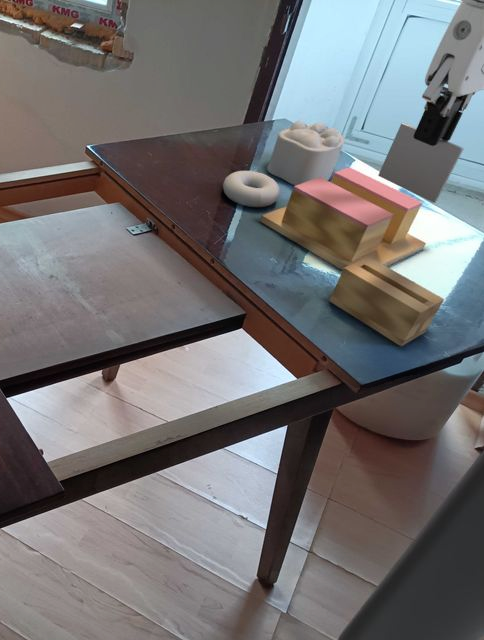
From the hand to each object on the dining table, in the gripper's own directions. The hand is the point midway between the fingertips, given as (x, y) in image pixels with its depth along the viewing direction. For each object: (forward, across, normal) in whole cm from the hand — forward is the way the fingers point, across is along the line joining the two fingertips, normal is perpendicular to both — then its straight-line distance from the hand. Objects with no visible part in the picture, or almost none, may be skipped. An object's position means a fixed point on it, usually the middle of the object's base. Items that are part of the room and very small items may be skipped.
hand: (431, 138), depth 93 cm
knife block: (+23, -8, -7) cm, 25 cm away
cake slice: (+21, +12, +10) cm, 27 cm away
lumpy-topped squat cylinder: (+22, +21, +30) cm, 42 cm away
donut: (+22, +3, +27) cm, 35 cm away
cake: (+23, +7, +10) cm, 26 cm away
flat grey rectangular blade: (+8, 0, 0) cm, 8 cm away
